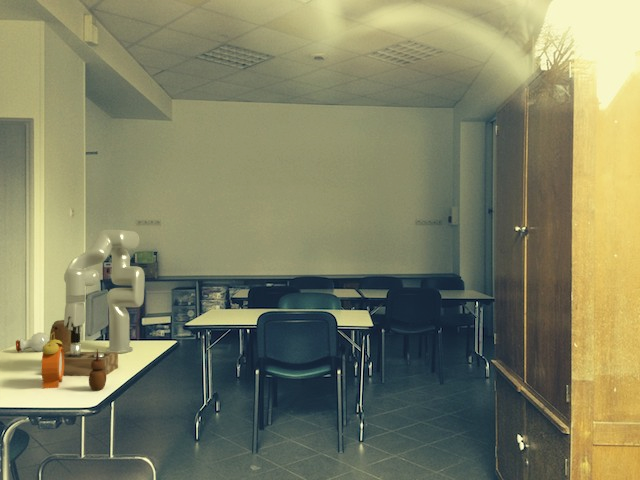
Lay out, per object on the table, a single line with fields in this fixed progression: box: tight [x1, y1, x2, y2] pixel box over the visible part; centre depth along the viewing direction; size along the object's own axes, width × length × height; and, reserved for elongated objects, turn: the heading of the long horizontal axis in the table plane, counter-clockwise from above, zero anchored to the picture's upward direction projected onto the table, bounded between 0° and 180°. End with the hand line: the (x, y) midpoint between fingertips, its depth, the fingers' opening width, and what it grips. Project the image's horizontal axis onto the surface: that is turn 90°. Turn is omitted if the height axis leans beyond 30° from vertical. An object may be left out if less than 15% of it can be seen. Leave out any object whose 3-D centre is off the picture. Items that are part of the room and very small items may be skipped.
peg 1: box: [70, 342, 82, 357], centre depth 231 cm, size 4×4×7 cm
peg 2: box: [94, 353, 104, 357], centre depth 231 cm, size 4×4×7 cm
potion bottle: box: [15, 332, 50, 353], centre depth 271 cm, size 9×10×15 cm
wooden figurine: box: [88, 348, 107, 391], centre depth 206 cm, size 7×6×15 cm
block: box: [49, 319, 72, 353], centre depth 243 cm, size 11×8×20 cm
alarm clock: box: [41, 332, 64, 390], centre depth 212 cm, size 13×6×20 cm, turn 17°
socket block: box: [63, 351, 119, 377], centre depth 232 cm, size 14×22×7 cm, turn 89°
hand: (75, 342), depth 231 cm, fingers closed
